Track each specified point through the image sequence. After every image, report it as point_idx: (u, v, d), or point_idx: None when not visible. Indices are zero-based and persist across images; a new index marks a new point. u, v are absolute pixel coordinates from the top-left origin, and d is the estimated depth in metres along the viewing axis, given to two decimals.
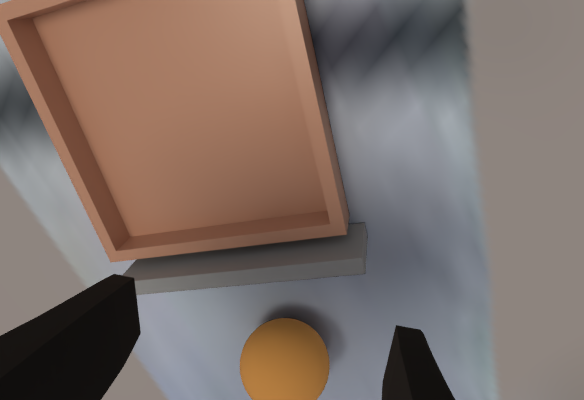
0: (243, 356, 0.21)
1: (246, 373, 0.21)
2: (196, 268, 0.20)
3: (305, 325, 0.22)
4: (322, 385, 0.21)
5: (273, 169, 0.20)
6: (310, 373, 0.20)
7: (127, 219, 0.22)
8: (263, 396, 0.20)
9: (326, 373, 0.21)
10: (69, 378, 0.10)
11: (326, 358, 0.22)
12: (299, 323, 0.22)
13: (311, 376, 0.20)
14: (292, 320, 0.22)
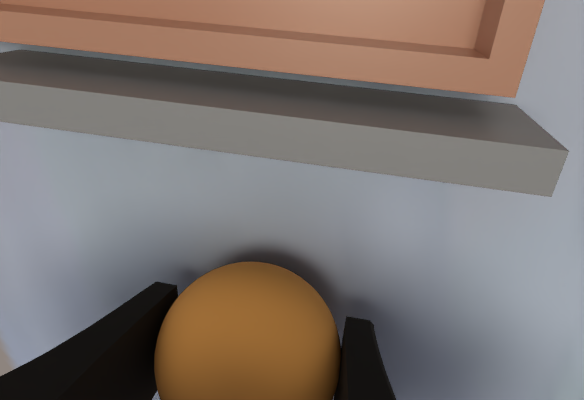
0: (172, 319, 0.10)
1: (170, 358, 0.09)
2: (120, 87, 0.08)
3: (312, 288, 0.11)
4: None
5: None
6: (312, 391, 0.09)
7: None
8: None
9: (334, 393, 0.10)
10: (120, 389, 0.10)
11: None
12: (303, 281, 0.11)
13: (313, 398, 0.09)
14: (289, 272, 0.11)
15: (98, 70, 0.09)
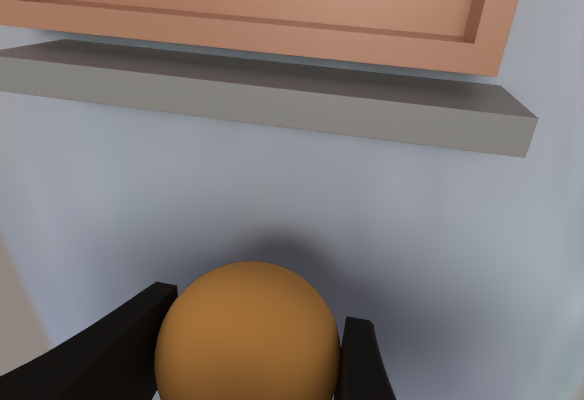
0: (172, 319, 0.10)
1: (170, 357, 0.09)
2: (161, 69, 0.10)
3: (312, 287, 0.11)
4: None
5: None
6: (312, 390, 0.09)
7: None
8: None
9: (333, 392, 0.10)
10: (120, 389, 0.10)
11: None
12: (302, 280, 0.11)
13: (313, 397, 0.09)
14: (289, 271, 0.11)
15: (138, 56, 0.11)
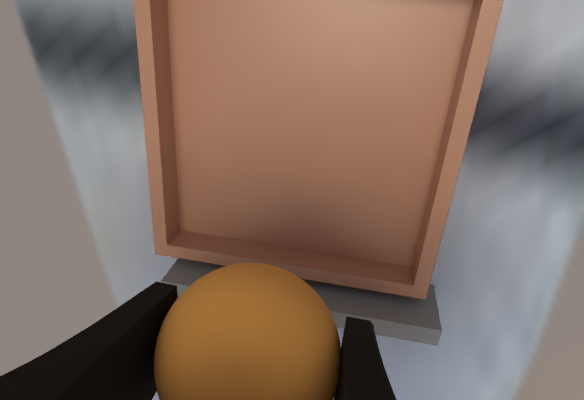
0: (172, 321, 0.10)
1: (170, 359, 0.09)
2: None
3: (312, 289, 0.11)
4: None
5: (368, 212, 0.19)
6: (312, 392, 0.09)
7: (184, 212, 0.20)
8: None
9: (333, 394, 0.10)
10: (120, 389, 0.10)
11: None
12: (302, 282, 0.11)
13: (313, 399, 0.09)
14: (289, 273, 0.11)
15: None
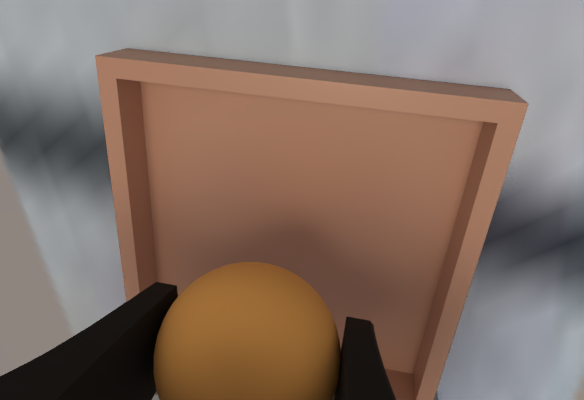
0: (171, 320, 0.10)
1: (169, 359, 0.09)
2: None
3: (312, 288, 0.11)
4: None
5: (365, 318, 0.17)
6: (311, 392, 0.09)
7: None
8: None
9: (333, 394, 0.10)
10: (120, 389, 0.10)
11: None
12: (302, 281, 0.11)
13: (313, 398, 0.09)
14: (289, 272, 0.11)
15: None
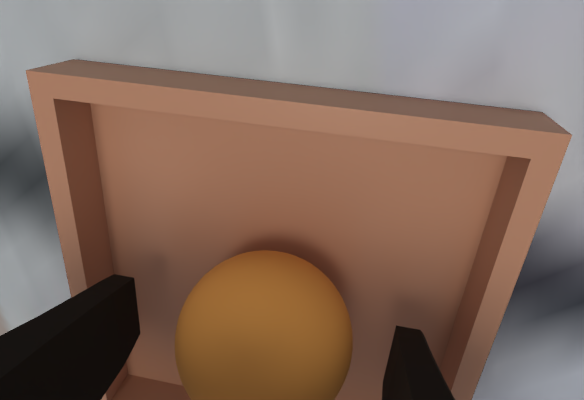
0: (194, 310, 0.10)
1: (197, 346, 0.10)
2: None
3: (320, 271, 0.12)
4: (340, 389, 0.11)
5: (363, 374, 0.14)
6: (334, 364, 0.10)
7: (132, 356, 0.16)
8: None
9: (348, 367, 0.11)
10: (69, 378, 0.10)
11: (352, 338, 0.11)
12: (312, 265, 0.11)
13: (335, 370, 0.10)
14: (298, 257, 0.11)
15: None
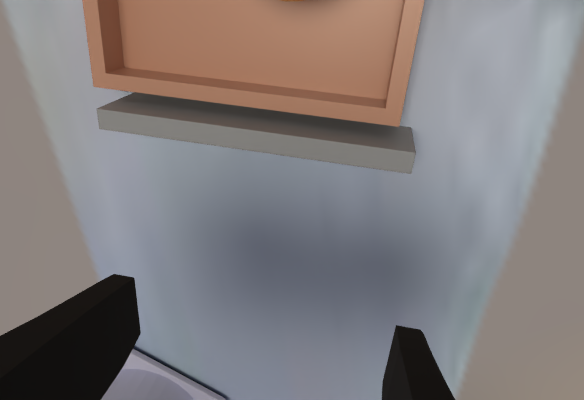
0: None
1: None
2: (205, 119, 0.16)
3: None
4: None
5: (334, 27, 0.16)
6: None
7: (128, 43, 0.18)
8: None
9: None
10: (69, 378, 0.10)
11: None
12: None
13: None
14: None
15: (188, 107, 0.18)
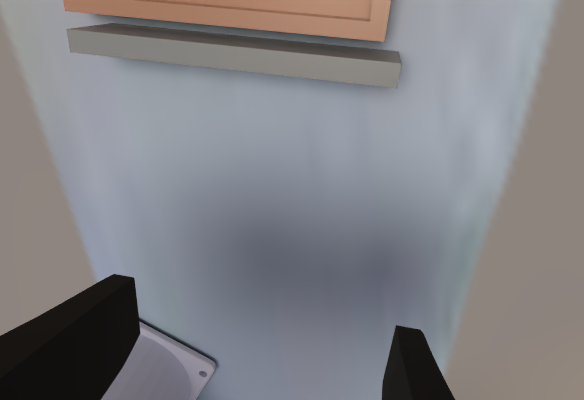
0: None
1: None
2: (181, 38, 0.16)
3: None
4: None
5: None
6: None
7: None
8: None
9: None
10: (69, 378, 0.10)
11: None
12: None
13: None
14: None
15: (164, 32, 0.17)
